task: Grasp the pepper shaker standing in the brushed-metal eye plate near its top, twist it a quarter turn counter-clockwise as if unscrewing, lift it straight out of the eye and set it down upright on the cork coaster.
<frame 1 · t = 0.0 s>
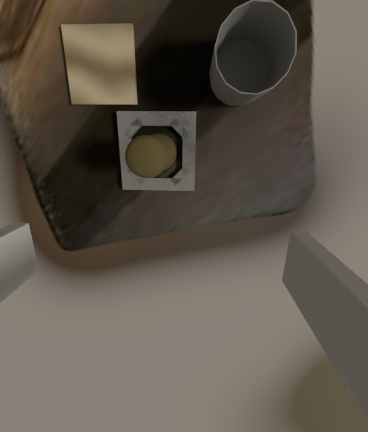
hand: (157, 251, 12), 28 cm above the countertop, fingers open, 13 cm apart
pepper shaker: (158, 152, 38), resting in eye plate
eye plate: (158, 152, 37), on the countertop
cup: (238, 75, 33), on the countertop
coaster: (101, 67, 34), on the countertop
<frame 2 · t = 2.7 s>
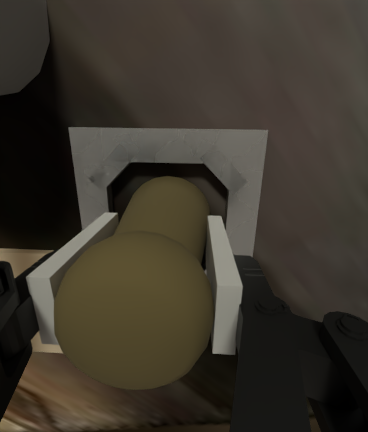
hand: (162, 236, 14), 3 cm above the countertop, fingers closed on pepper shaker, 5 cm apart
pepper shaker: (169, 216, 17), resting in eye plate, touching gripper
eye plate: (168, 217, 17), on the countertop
coaster: (30, 301, 20), on the countertop
when the fingers open (5 cm above the countertop, at t = 8.5 s): pepper shaker drops 1 cm, resting on coaster.
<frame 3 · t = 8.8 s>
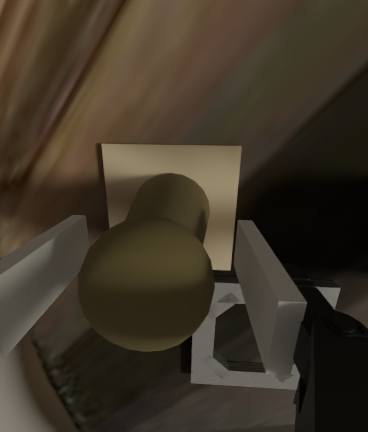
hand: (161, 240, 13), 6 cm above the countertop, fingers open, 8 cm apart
pepper shaker: (171, 211, 18), resting on coaster
eye plate: (255, 331, 22), on the countertop
coaster: (171, 209, 19), on the countertop
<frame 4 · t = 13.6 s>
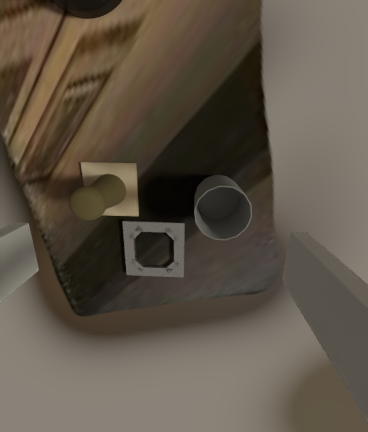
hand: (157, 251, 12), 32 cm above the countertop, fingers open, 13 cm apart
pepper shaker: (110, 189, 43), resting on coaster
eye plate: (155, 248, 47), on the countertop
cup: (217, 197, 43), on the countertop
coaster: (111, 189, 44), on the countertop
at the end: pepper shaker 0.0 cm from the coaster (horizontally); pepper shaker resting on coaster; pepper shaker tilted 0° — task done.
